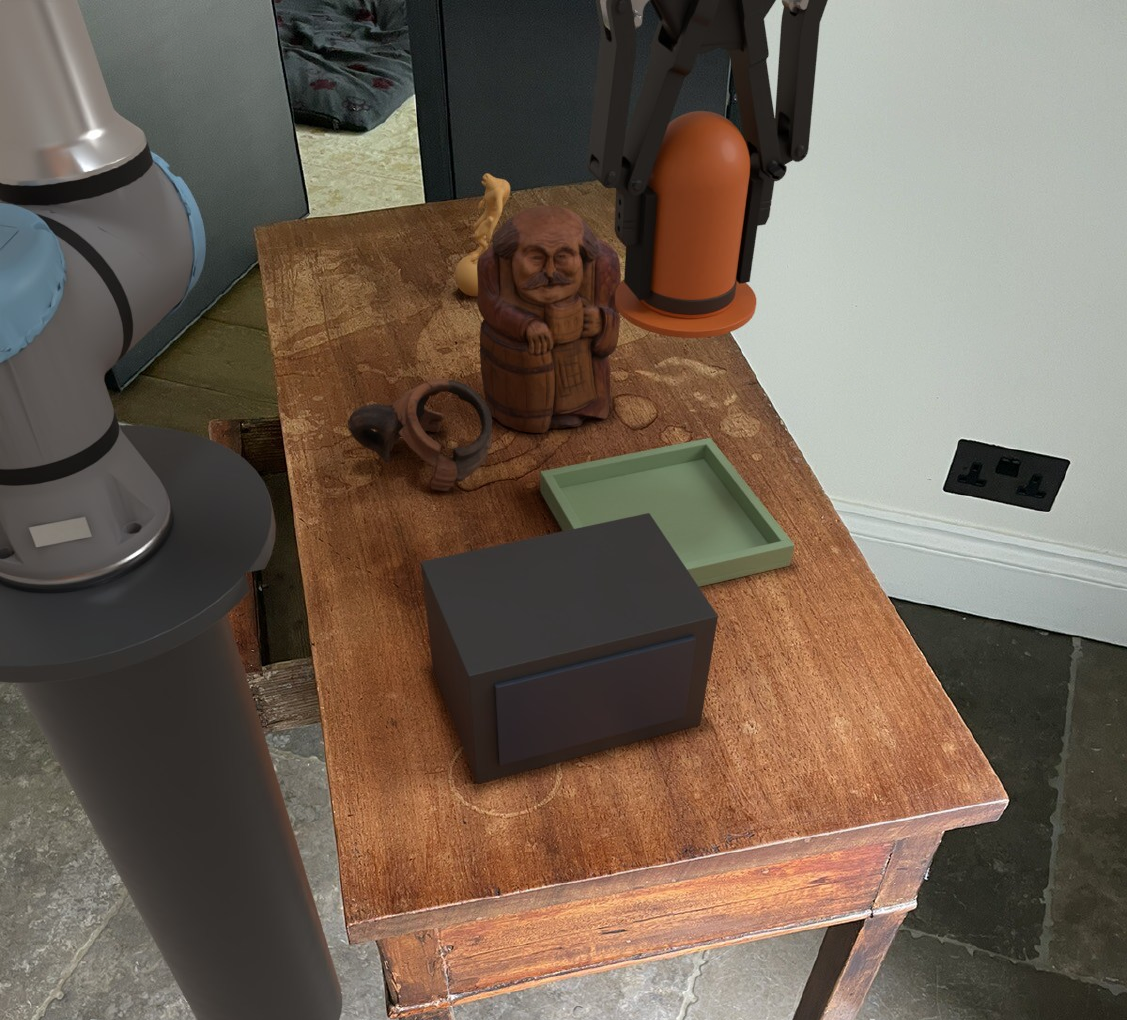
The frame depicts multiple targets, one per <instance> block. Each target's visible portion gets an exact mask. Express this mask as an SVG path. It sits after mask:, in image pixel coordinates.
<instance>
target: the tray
mask: <svg viewBox="0 0 1127 1020" xmlns="http://www.w3.org/2000/svg"><path fill="white" fill-rule="evenodd" d="M539 478H540V479H539V480H540V481H539V484H540V485H539V486H540V489H539V490H540V494H541V496H542V497H543V499H544V501H545V503H546V504H547V506H548V508H549V510H550V511H551V513H552V515H553V517H554V519H555V521H556V522H557V524H558V526H559V528H560V529H561V532H562V531H567V530H571V529H576V528H581V527H586V526H590V525H595V524H600V523H604V522H609V521H614V520H618V519H623V518H628V517H632V516H637V515H642V514H646V513H650V515H651V516H652V518H653V519H654V521H655V522H656V524H657V525H658V527H659V528H660V530H661V531H662V533H663V534H664V536H665V537H666V539H667V540H668V542H669V543H670V545H671V546H672V548H673V549H674V551H675V552H676V554H677V555H678V557H679V558H680V560H681V561H682V563H683V564H684V566H685V567H686V569H687V570H688V572H689V573H690V575H691V576H692V578H693V579H694V581H695V582H696V584H697V585H698V587H699V588H701V587H705V586H708V585H709V586H710V585H714V584H717V583H721V582H726V581H731V580H734V579H739V578H743V577H747V576H751V575H755V574H760V573H764V572H768V571H773V570H778V569H783V568H785V567H789V566H791V562H792V559H793V554H794V549H795V543H794V542H793V541H792V540H791V539H790V537H789V535H788V534H787V533H786V532H785V531H784V529H783V528H782V527H781V526H780V524H779V523H778V522H777V521H776V519H775V518H774V517H773V515H772V514H771V513H770V512H769V510H768V509H767V508H766V506H765V505H764V504H763V503H762V501H761V500H760V499H759V498H758V497H757V495H756V494H755V492H754V491H753V490H752V489H751V487H750V486H749V485H748V484H747V483H746V481H745V480H744V478H743V477H742V476H741V474H740V473H739V472H738V471H737V470H736V468H735V467H734V466H733V464H732V463H731V462H730V461H729V459H728V458H727V457H726V456H725V454H724V453H723V452H722V450H721V449H720V448H719V447H718V446H717V444H716V443H715V442H714V440H713V439H712V438H711V437H708V438H702V439H696V440H691V441H687V442H682V443H676V444H671V445H667V446H662V447H656V448H651V449H646V450H641V451H636V452H631V453H626V454H622V455H621V454H620V455H615V456H611V457H606V458H601V459H596V460H592V461H586V462H580V463H575V464H571V465H566V466H561V467H556V468H550V469H545V470H541V471H540V474H539Z"/></svg>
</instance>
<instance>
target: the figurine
mask: <svg viewBox="0 0 1127 1020" xmlns="http://www.w3.org/2000/svg"><path fill="white" fill-rule="evenodd" d="M481 185H482V186H483V187H485V191H484V196H483V198H482V199H481V201H480V202H479V203H478V207H477V209H478V210H480V209H482V208H483V207H484V205H485V210H484V212H483V214H482V215H481V216H480V217H479V218H478V220H477V221H476V222H475V223H473V226H472V228H473V229H472V230H473V232H474V234H473V235H474V239H475V241H476V242H477V243H478V244H479V246H478V248H477V249H476V250H474V251H471V252H470V253H469V255H466V256H464V257H463V258H461V259H460V261H458V263H457V265H456V267H455V271H454V281H455V283H456V286H457V287H458V289H459V290H460V292H462V293H463V294H465V295H466V296H469V297H478V278H477V262H478V258H479V257H480V255H481V254H482V253H483V252H484V251H486V250H487V249H488V248H489V245H490V242H491V240H492V238H493V234H494V231H495V228H496V227H497V226H498V223H499V220H500V218H501V216H502V213H503V207H504V206H505V204H506V203H507V201H508V199H509V197H510V194H511V185H510V182H508V181H507V180H506V179H503V178H497V177H495V176H493V175H491V174H490V173H489V172H488V173H487V172H486V173H484V174H483V176H482V180H481Z"/></svg>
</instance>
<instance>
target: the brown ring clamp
mask: <svg viewBox="0 0 1127 1020" xmlns="http://www.w3.org/2000/svg"><path fill="white" fill-rule="evenodd" d="M441 392H443V393H450V394H454V395H456V396H458V399H459V400H461V401H464V402H466V403H468V404H470V405H471V406H472V407H473V409H475V411H476V413H477V415H478V417H479V419H480V425H481V427H480V429H481V430H480V433H479V435H478V437H477V438H476V439H475V440H474V441H473V442H472V443H470V444H467V445H464V446H459V447H453V448H452V456H448V455H446V456H445V455H443V454H442V453H441V447H442V446H441V444H440V443H439V442H438V441H436V440H435V439H433V438H432V437H431V436H430V435H428V434H427V432H432V433H435V434H436V433H437V434H438V433H439V432H440V428H441V425H442V422H443V420H444V418H445V414H444V413H442V412H441V411H440V412H439V411H434V410H431V409H429V408H425V406H426V404H427V402H428V401H429V399H430V397H432V396H435V395H438V394H440V393H441ZM492 418H493V417H492V416H491V413H490V411H489V408H488V406H487V404H486V401H485V400H484V398H482V396H481V394H479V393H478V392H477V391H476V390H474V388H473V387H471V386H468V385H467V384H464V383H462V382H460V381H457V380H453V379H450V380H448V379H444V378H443V379H442V378H441V379H440V378H439V379H431V380H428V381H426V382H423V383H421V384H420V385H418V386H416V387H413V388H411V389H408V390H407V391H405V392H404V393H402V394H401V395H400V396H399V397H398V398H397V399H396V400H395V401H394V402H393V403H392V404H389V405H388V404H387V405H386V404H385V405H384V404H380V403H379V404H378V403H371V404H366V405H362V406H359V407H358V408H355V409H354V410H353V411H352V413H351V414H350V416H349V418H348V420H347V430H348V431H349V432H350V434H351V436H352V438H353V439H354V440H355V441H356V442H357V443H358V444H360V445H361V446H363V447H364V448H366V449H368V450H369V451H372V452H375V453H376V454H377V456H379V458H380V459H381V460H382V461H383V462H384V463H389V462H390V459H391V458H390V453H391V452H392V450H393V449H394V446H395V444H396V443H397V441H398V440H399V439H400V438H402V439H403V441H404V442H405V443H406V444H407V446H408V447H409V449H411V450H412V451H413V452H414V453H416V454H417V456H418V457H419V458H420V459H421V460H423V461H424V462H425V463H427V464H428V465H430V466H431V467H433V468H434V471H433V472H434V473H433V477H432V478H431V480H430V481H429V485H430V488H431V489H432V490H434V491H435V490H436V491H440V492H448V491H449V490H450V489H451V488H453V487H454V485H455V482H462V481H463V480H465V479H466V478H468V477H469V476H471V475H472V474H473V473H474V472H476V471H477V470H478V469H479V468H481V466H482V465H483V464H484V462H485V461H486V460H487V459H488V457H489V450H491V449H492V446H493V419H492Z"/></svg>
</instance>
